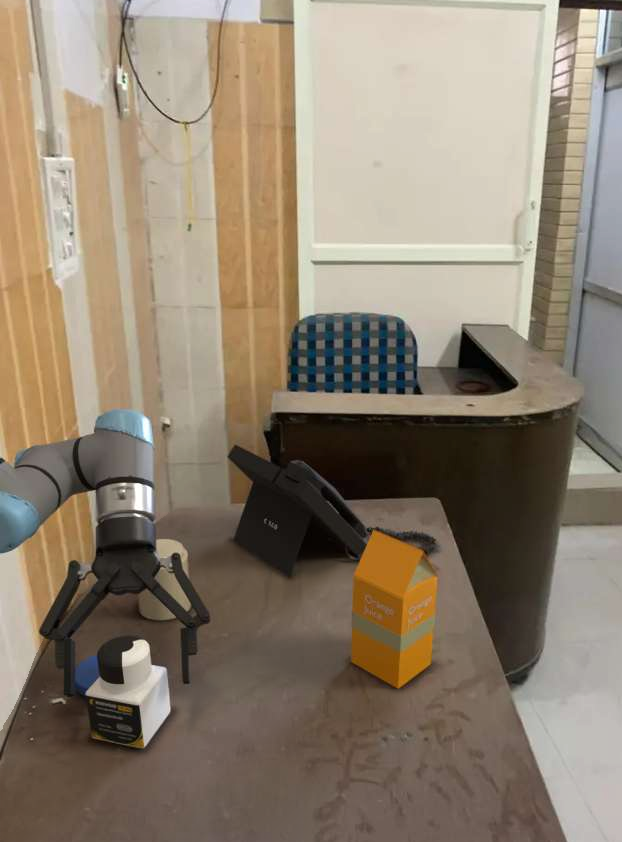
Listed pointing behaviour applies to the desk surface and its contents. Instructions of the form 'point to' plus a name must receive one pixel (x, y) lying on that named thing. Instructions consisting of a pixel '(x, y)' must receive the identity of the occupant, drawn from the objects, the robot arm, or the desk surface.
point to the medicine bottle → (127, 693)
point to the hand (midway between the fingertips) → (128, 689)
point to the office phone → (297, 512)
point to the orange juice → (393, 610)
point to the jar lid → (86, 674)
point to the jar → (165, 584)
